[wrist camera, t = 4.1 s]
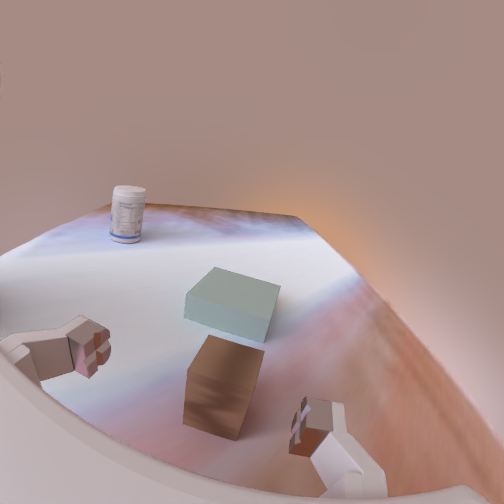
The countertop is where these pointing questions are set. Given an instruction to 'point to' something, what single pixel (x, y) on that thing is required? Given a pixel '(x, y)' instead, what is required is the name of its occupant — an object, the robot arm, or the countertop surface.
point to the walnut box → (221, 386)
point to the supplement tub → (127, 214)
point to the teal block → (232, 303)
